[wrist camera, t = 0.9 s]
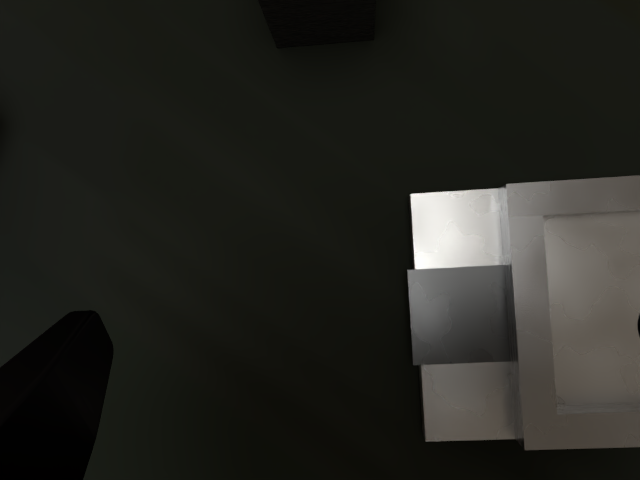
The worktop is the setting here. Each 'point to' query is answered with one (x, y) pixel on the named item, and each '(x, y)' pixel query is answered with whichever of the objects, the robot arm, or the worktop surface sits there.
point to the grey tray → (528, 313)
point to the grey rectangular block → (319, 21)
